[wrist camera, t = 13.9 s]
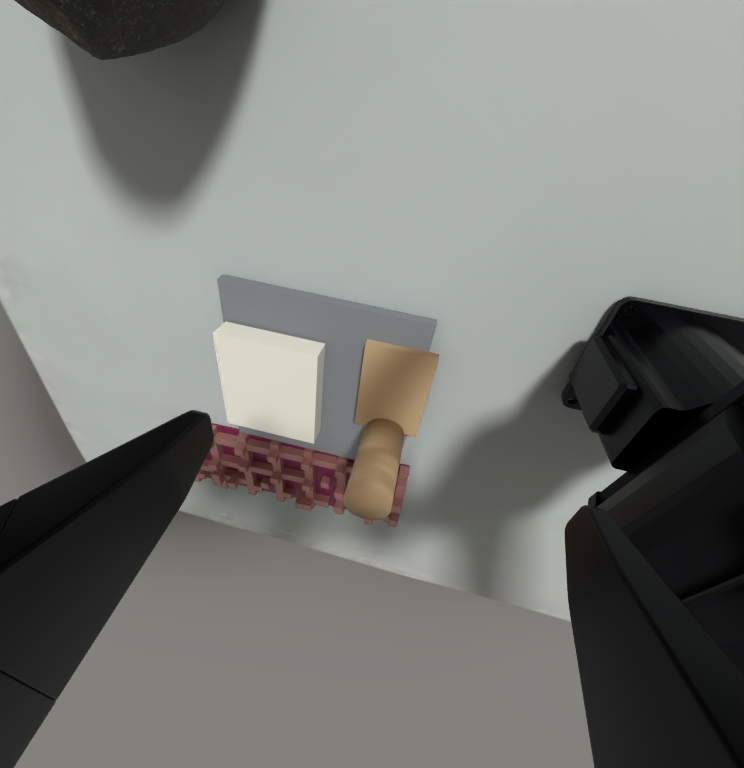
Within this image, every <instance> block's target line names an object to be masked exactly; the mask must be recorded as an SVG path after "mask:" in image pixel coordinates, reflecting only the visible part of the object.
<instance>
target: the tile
mask: <svg viewBox="0 0 744 768" xmlns="http://www.w3.org/2000/svg"><path fill="white" fill-rule="evenodd" d="M213 338H214V344H215V350H216V356H217V362H218V367H219V373H220V379H221V385H222V391H223V397H224V403H225V409H226V415H227V421H228V423H231V424H235V425H239V426H243V427H247V428H251V429H255V430H259V431H263V432H268V433H272V434H276V435H280V436H284V437H288V438H292V439H296V440H300V441H304V442H309V443H313V444H314V442H315V440H316V438H317V436H318V433H319V431H320V427H321V410H322V392H323V375H324V358H325V343H321V342H316V341H312V340H307V339H303V338H298V337H294V336H289V335H285V334H280V333H276V332H271V331H267V330H262V329H258V328H253V327H249V326H244V325H240V324H235V323H231V322H224V323H223V324H222V325H221V326H220V327H219V328H218V329H217V330H216V331H215V332H213Z"/></svg>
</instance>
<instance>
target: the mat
mask: <svg viewBox="0 0 744 768" xmlns="http://www.w3.org/2000/svg"><path fill="white" fill-rule="evenodd" d="M218 286H219V293H220V300H221V307H222V314H223V321H224V322H231V323H235V324H240V325H244V326H249V327H253V328H258V329H262V330H267V331H271V332H276V333H280V334H285V335H289V336H294V337H298V338H303V339H307V340H312V341H316V342H321V343H325V358H324V375H323V392H322V410H321V427H320V431H319V433H318V436H317V438H316V440H315V442H314V444H313V443H309V442H304V441H300V440H296V439H292V438H288V437H284V436H280V435H276V434H272V433H268V432H263V431H259V430H255V429H251V428H247V427H243V426H239V432H243V433H247V434H251V435H255V436H260V437H264V438H268V439H272V440H276V441H280V442H284V443H288V444H292V445H296V446H300V447H304V448H309V449H313V450H317V451H321V452H325V453H329V454H333V455H337V456H341V457H345V458H349V459H354V460H355V458H356V455H357V452H358V448H359V445H360V442H361V438H362V435H363V432H364V429H365V425H361V424H357V423H355V416H356V408H357V401H358V394H359V386H360V379H361V372H362V364H363V357H364V350H365V344H366V341H367V339H370V340H375V341H379V342H384V343H388V344H393V345H398V346H402V347H407V348H412V349H416V350H421V351H425V352H429V350H430V346H431V342H432V339H433V335H434V331H435V328H436V323H437V320H435V319H430V318H425V317H421V316H416V315H411V314H407V313H402V312H397V311H392V310H388V309H383V308H378V307H374V306H369V305H364V304H359V303H355V302H350V301H345V300H341V299H336V298H331V297H326V296H322V295H317V294H312V293H308V292H303V291H298V290H293V289H289V288H284V287H279V286H275V285H270V284H265V283H260V282H256V281H251V280H246V279H242V278H237V277H232V276H227V275H222V276H220V277H219V278H218ZM405 437H406V435H404V440H405ZM404 440H403V444H404ZM402 448H403V446H402Z"/></svg>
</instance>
